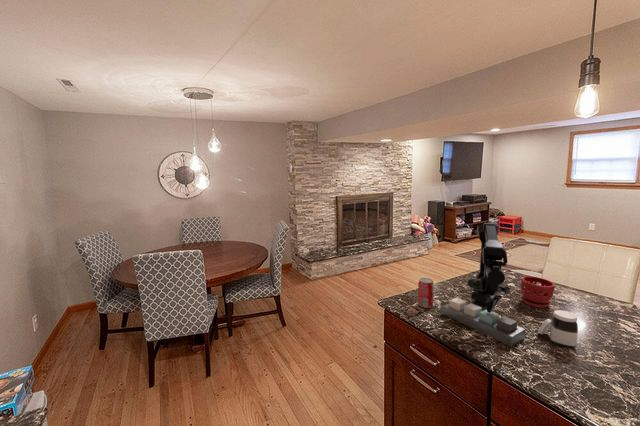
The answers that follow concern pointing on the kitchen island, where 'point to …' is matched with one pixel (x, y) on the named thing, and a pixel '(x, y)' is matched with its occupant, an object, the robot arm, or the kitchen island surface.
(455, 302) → the key ivory
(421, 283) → the soda can
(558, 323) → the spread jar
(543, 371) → the kitchen island surface
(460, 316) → the key panel
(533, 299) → the plant pot
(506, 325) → the key black
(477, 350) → the kitchen island surface
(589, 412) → the kitchen island surface
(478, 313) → the key grey
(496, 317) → the key teal
